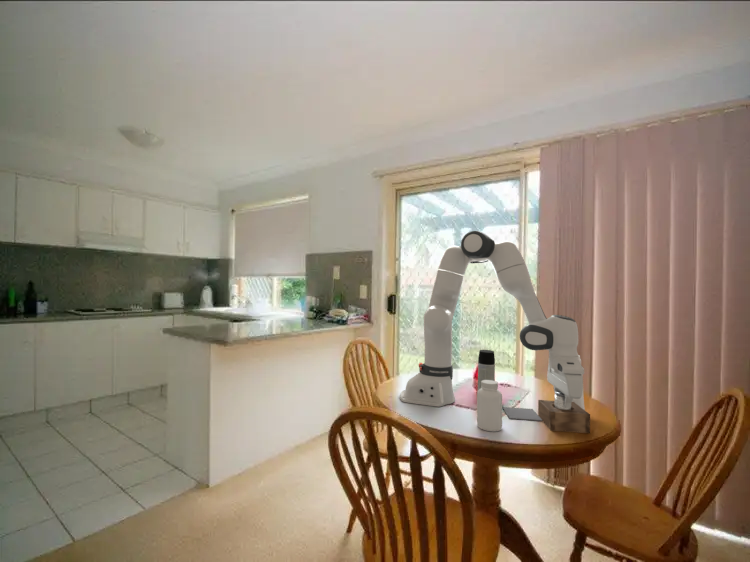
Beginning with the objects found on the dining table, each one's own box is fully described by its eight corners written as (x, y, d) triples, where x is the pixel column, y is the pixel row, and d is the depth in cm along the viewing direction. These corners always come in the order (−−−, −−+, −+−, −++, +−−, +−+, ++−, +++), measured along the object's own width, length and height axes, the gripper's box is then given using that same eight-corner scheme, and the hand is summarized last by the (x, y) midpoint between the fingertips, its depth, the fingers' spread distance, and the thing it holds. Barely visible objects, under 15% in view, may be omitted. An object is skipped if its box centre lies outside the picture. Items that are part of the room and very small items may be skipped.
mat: (509, 418, 120) (509, 417, 120) (502, 407, 131) (502, 406, 131) (542, 421, 118) (542, 420, 118) (532, 409, 129) (532, 408, 129)
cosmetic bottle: (570, 410, 129) (570, 352, 129) (588, 415, 124) (588, 355, 125) (564, 414, 125) (564, 354, 125) (582, 419, 120) (583, 357, 120)
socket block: (550, 430, 111) (550, 411, 111) (538, 416, 123) (538, 399, 123) (590, 433, 109) (590, 414, 109) (573, 418, 121) (573, 402, 121)
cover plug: (557, 426, 114) (558, 394, 114) (552, 420, 119) (552, 390, 119) (573, 428, 113) (573, 395, 113) (567, 422, 118) (567, 390, 118)
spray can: (494, 397, 143) (494, 350, 143) (494, 402, 136) (495, 353, 137) (477, 395, 145) (478, 348, 145) (477, 400, 138) (477, 351, 139)
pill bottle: (477, 420, 118) (478, 377, 118) (502, 424, 115) (503, 380, 115) (475, 429, 110) (476, 383, 111) (501, 434, 107) (502, 386, 107)
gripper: (542, 356, 127) (542, 393, 127) (565, 369, 107) (565, 413, 106) (560, 357, 126) (560, 394, 126) (587, 370, 106) (586, 415, 105)
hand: (562, 403), depth 116 cm, fingers open, 6 cm apart
